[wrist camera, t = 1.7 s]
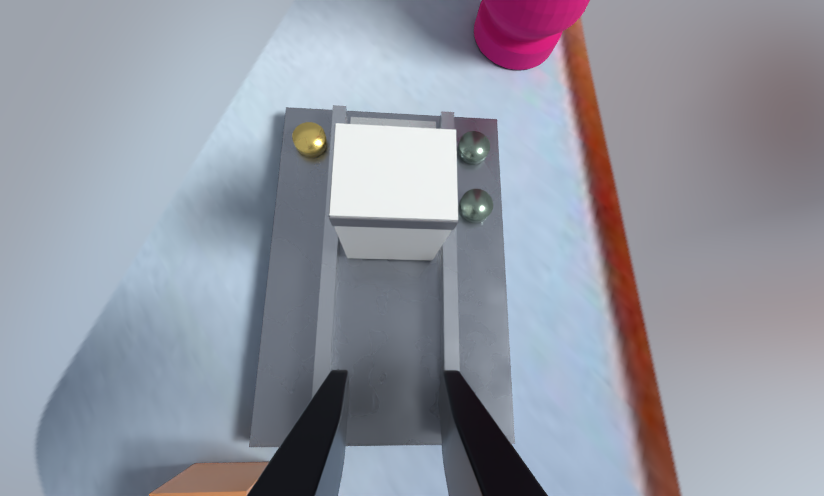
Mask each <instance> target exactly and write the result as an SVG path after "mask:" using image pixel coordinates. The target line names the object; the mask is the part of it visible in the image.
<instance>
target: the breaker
mask: <svg viewBox="0 0 824 496" xmlns="http://www.w3.org/2000/svg"><path fill="white" fill-rule="evenodd" d="M329 220H330V222H331V225H332V226H334V227H335V230H336V232H337V235H338V237H339V239H340V242H341V244H342V246H343V249H344V251H345V254H346V256H347V258H358V259H396V260H433V259H434V257H435V256H436V254H437V252H438V251H439V249H440V248H441V246H442V245H443V243H444V241H445V240H446V238H447V237H448V235H449V234H450V232H451V230H454V229H455V227H456V226H457V224H458V185H457V143H456V130H452V129H434V128H415V127H397V126H378V125H360V124H341V123H336V125H335V136H334V150H333V164H332V179H331V193H330V208H329Z"/></svg>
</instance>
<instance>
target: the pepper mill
mask: <svg viewBox="0 0 824 496" xmlns="http://www.w3.org/2000/svg"><path fill="white" fill-rule="evenodd" d="M589 1H590V0H482V1H481V4H480V7H479V10H478V14H477V17H476V20H475V24H474V37H475V40H476V43H477V45H478V47H479V49H480V51H481V52H482V53H483V54H484V55H485V56H486V57H487V58H488V59H489V60H491V61H492V62H494V63H495V64H497V65H500V66H502V67H504V68H507V69H514V70H525V69H530V68H533V67H536V66H538V65H540V64H541V63H543V62H544V61H545V60H546V59H547V58H548V57H549V55H550V54H551V52H552V51H553V49H554V47H555V45H556V44H557V42H558V40H559V39H560V37H561V34H562V31H564V30H566V29H567V28H569V27H570V26H571V25H573V24H574V23H575V22H576V21H577V20H578V19H579V18H580V16H581V15H582V14H583V12H584V11H585V9H586V7H587V5H588V3H589Z"/></svg>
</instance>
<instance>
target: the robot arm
mask: <svg viewBox="0 0 824 496" xmlns="http://www.w3.org/2000/svg"><path fill="white" fill-rule="evenodd" d="M348 408H349V372H348V370H332V371H331V372H330V373H329V374H328V376H327V377H326V379H325V380H324V382H323V383H322V384H321V386H320V387H319V389H318V390H317V392H316V393H315V395H314V396H313V398H312V399H311V401H310V402H309V404H308V405H307V407H306V408H305V410H304V411H303V413H302V414H301V416H300V417H299V419H298V420H297V422H296V423H295V425H294V426H293V428H292V429H291V431H290V432H289V433H288V435H287V436H286V438H285V439H284V441H283V442H282V444H281V445H280V447H279V448H278V450H277V451H276V453H275V454H274V456H273V457H272V459H271V460H270V462H269V463H268V465H267V466H266V468H265V469H264V471H263V472H262V474H261V475H260V477H259V478H258V480H257V481H256V482H255V484H254V485H253V487H252V488H251V490H250V491H249V493H248V494H247V496H338V492H339V487H340V482H341V477H342V471H343V465H344V456H345V445H346V433H347V420H348ZM439 411H440V425H441V440H442V454H443V464H444V470H445V476H446V482H447V488H448V493H449V496H548V495H547V494H546V492H545V491H544V490H543V488H542V487H541V485H540V484H539V483H538V481H537V480H536V478H535V477H534V475H533V474H532V473H531V471H530V470H529V468H528V467H527V466H526V464H525V463H524V461H523V460H522V459H521V457H520V456H519V454H518V453H517V452H516V450H515V449H514V447H513V446H512V444H511V443H510V442H509V440H508V439H507V437H506V436H505V435H504V433H503V432H502V430H501V429H500V428H499V426H498V425H497V423H496V422H495V421H494V419H493V418H492V416H491V415H490V413H489V412H488V411H487V409H486V408H485V406H484V405H483V404H482V402H481V401H480V399H479V398H478V397H477V395H476V394H475V392H474V391H473V390H472V388H471V387H470V385H469V384H468V382H467V381H466V380H465V378H464V377H463V375H462V374H461V373H460V372H459V371H458V370H444V371H443V372H442V375H441V382H440V388H439Z"/></svg>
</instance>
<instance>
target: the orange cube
mask: <svg viewBox="0 0 824 496" xmlns="http://www.w3.org/2000/svg"><path fill="white" fill-rule="evenodd" d="M268 463H269V462H234V463H195V464H193V465H192V466H190V467H189V468H187V469H186V470H184V471H183V472H181V473H180V474H178V475H177V476H175V477H174V478H172V479H171V480H169V481H168V482H166V483H165V484H163V485H162V486H160V487H159V488H157V489H156V490H154V491H153V492H151V493H150V494H149V496H247V494H248V493H249V491H250V490H251V488H252V487H253V485H254V484H255V482H256V481H257V480H258V478H259V477H260V475H261V474H262V472H263V471H264V469H265V468H266V466H267V465H268Z"/></svg>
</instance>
